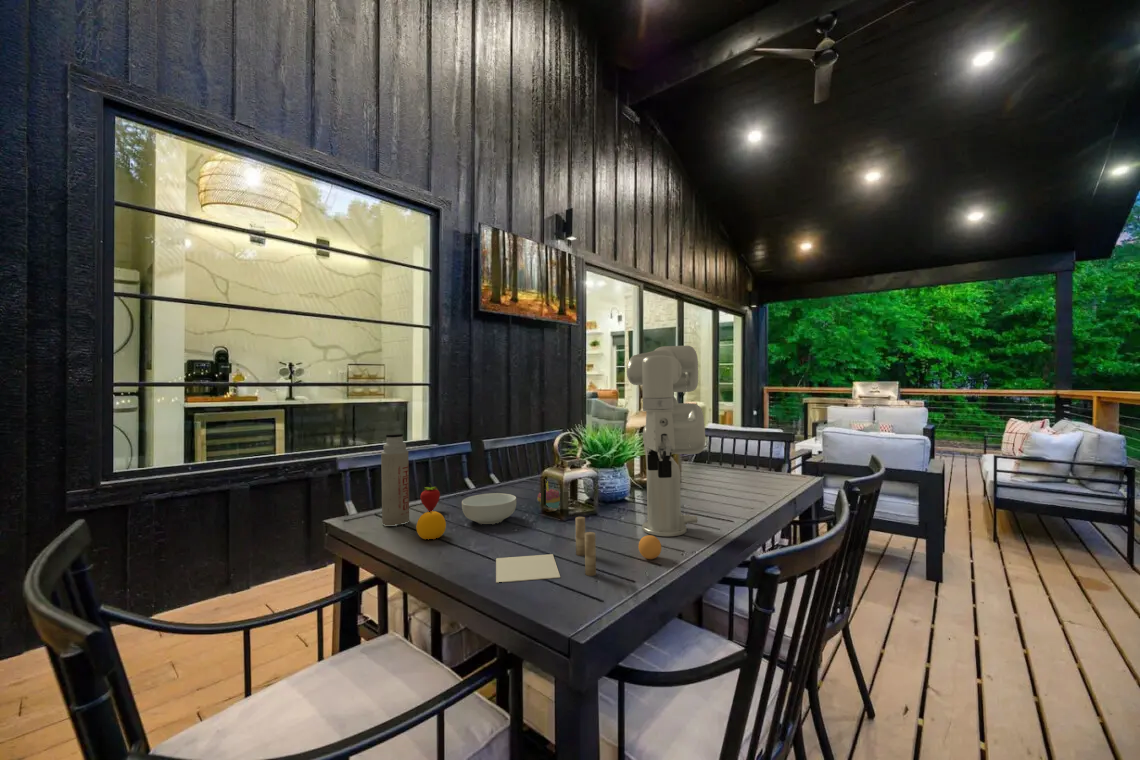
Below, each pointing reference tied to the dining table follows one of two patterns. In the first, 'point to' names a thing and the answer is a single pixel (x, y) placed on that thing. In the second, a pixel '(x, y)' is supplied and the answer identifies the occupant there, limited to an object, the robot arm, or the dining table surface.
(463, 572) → the dining table surface
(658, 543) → the ball
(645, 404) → the robot arm
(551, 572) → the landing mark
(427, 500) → the strawberry
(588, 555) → the post
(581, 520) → the post
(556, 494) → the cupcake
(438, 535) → the orange round fruit
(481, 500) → the cereal bowl
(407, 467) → the thermos bottle
